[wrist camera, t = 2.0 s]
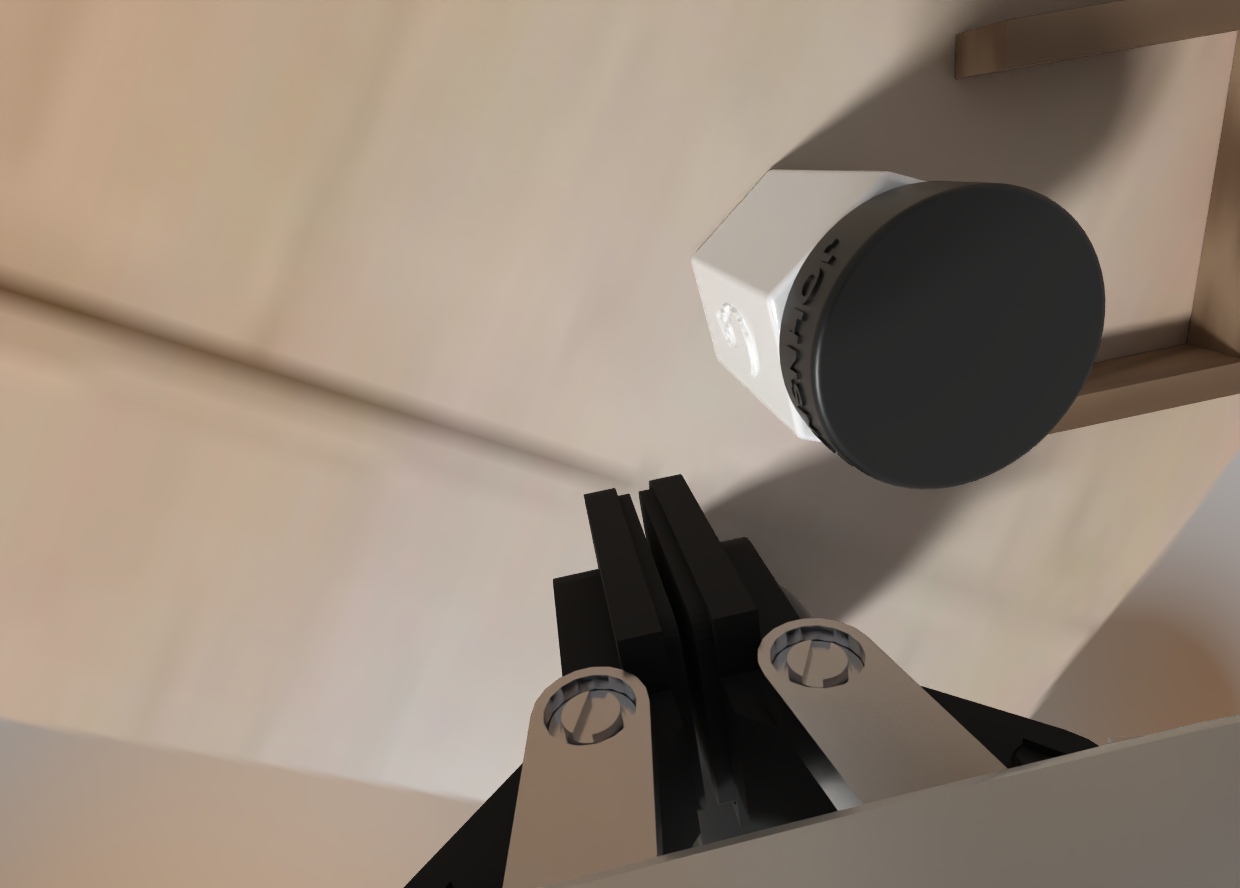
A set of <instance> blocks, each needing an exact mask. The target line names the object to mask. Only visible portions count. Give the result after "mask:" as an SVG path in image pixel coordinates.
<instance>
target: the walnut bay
mask: <svg viewBox="0 0 1240 888" xmlns="http://www.w3.org/2000/svg"><path fill="white" fill-rule="evenodd" d="M1236 30H1238V36H1237V42H1236V48H1235V54H1234V60H1233V67H1232V73H1231V79H1230V85H1229V91H1228V97H1227V103H1226V109H1225V115H1224V121H1223V127H1222V133H1221V139H1220V145H1219V151H1218V158H1217V164H1216V170H1215V176H1214V182H1213V188H1212V194H1211V200H1210V206H1209V212H1208V218H1207V224H1206V230H1205V236H1204V242H1203V249H1202V255H1201V261H1200V267H1199V273H1198V279H1197V285H1196V291H1195V297H1194V303H1193V309H1192V315H1191V321H1190V327H1189V333H1188V339H1187V344H1184V345H1179V346H1175V347H1170V348H1165V349H1160V350H1155V351H1150V352H1146V353H1141V354H1136V355H1131V356H1126V357H1121V358H1117V359H1112V360H1107V361H1102V362H1097V363H1094V364H1093V366H1092V369H1091V371H1090V374H1089V376H1088V378H1087V380H1086V382H1085V384H1084V386H1083V388H1082V389H1081V391H1080V393H1079V395H1078V396H1077V398H1076V400H1075V401H1074V402H1073V404H1072V405H1071V407H1070V408H1069V410H1068V411H1067V412H1066V414H1065V415H1064V416H1063V418H1062V419H1061V420H1060V421H1059V423H1058V424H1057V425H1056V426H1055V427H1054V428H1053V429H1052V430H1051V431H1050V432H1049V434H1052V433H1056V432H1061V431H1066V430H1070V429H1075V428H1080V427H1085V426H1089V425H1094V424H1099V423H1103V422H1108V421H1113V420H1117V419H1122V418H1127V417H1131V416H1136V415H1141V414H1145V413H1150V412H1155V411H1160V410H1164V409H1169V408H1174V407H1178V406H1183V405H1188V404H1192V403H1197V402H1202V401H1206V400H1211V399H1216V398H1220V397H1225V396H1230V395H1235V394H1239V393H1240V0H1123V1H1117V2H1111V3H1105V4H1099V5H1093V6H1087V7H1081V8H1075V9H1069V10H1063V11H1057V12H1051V13H1045V14H1039V15H1033V16H1027V17H1021V18H1015V19H1009V20H1005V21H1002V22H999V23H995V24H992V25H988V26H985V27H982V28H978V29H975V30H971V31H968V32H965V33H961V34H958V35H956V63H955V79H958V78H964V77H970V76H975V75H981V74H987V73H993V72H999V71H1004V70H1010V69H1016V68H1022V67H1028V66H1033V65H1039V64H1045V63H1051V62H1056V61H1062V60H1068V59H1074V58H1080V57H1085V56H1091V55H1097V54H1103V53H1109V52H1114V51H1120V50H1126V49H1132V48H1138V47H1143V46H1149V45H1155V44H1161V43H1167V42H1172V41H1178V40H1184V39H1190V38H1196V37H1201V36H1207V35H1213V34H1219V33H1225V32H1230V31H1236Z"/></svg>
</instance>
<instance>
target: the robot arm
mask: <svg viewBox="0 0 1240 888" xmlns="http://www.w3.org/2000/svg"><path fill="white" fill-rule="evenodd" d="M584 499H585V504H586V509H587V514H588V519H589V524H590V529H591V534H592V539H593V544H594V549H595V553H596V558H597V563H598V568H599V569H596V570H591V571H587V572H582V573H578V574H573V575H569V576H564V577H559V578H555V579H553V587H554V597H555V607H556V617H557V627H558V637H559V646H560V656H561V666H562V676H563V677H561V678H559V679H558V680H556V681H555V682H554V683H553V684H551V685H550V686H549V687H547V688H546V689H545V690H544V692H543V693H542V694H541V695H540V697H539V698H538V699H537V701H536V702H535V705H534V708H533V711H532V713H531V717H530V723H529V729H528V735H527V741H526V748H525V754H524V760H523V763H522V764H521V765H520V767H519V768H518V769H517V770H516V771H515V772H514V773H513V774H512V775H511V776H510V777H509V778H508V779H507V780H506V781H505V782H504V783H503V784H502V785H501V786H500V787H499V788H498V790H497V791H496V792H495V793H494V794H493V795H492V796H491V797H490V798H489V799H488V800H487V801H486V802H485V803H484V804H483V805H482V806H481V807H480V808H479V809H478V810H477V812H476V813H475V814H474V815H473V816H472V817H471V818H470V819H469V820H468V821H467V822H466V823H465V824H464V825H463V826H462V827H461V828H460V829H459V830H458V831H457V832H456V833H455V834H454V835H453V837H452V838H451V839H450V840H449V841H448V842H447V843H446V844H445V845H444V846H443V847H442V848H441V849H440V850H439V851H438V852H437V853H436V854H435V855H434V856H433V858H431V860H430V861H429V862H428V863H427V864H426V865H425V866H424V867H423V868H422V869H421V870H420V871H419V872H418V873H417V874H416V875H415V876H414V877H413V878H412V879H411V881H410V882H409V883H408V884H407V885H406V886H405V887H404V888H1240V715H1236V716H1231V717H1226V718H1221V719H1216V720H1212V721H1206V722H1201V723H1197V724H1193V725H1189V726H1185V727H1181V728H1176V729H1172V730H1168V731H1164V732H1160V733H1156V734H1151V735H1147V736H1131V737H1109V741H1108V745H1104V746H1098V745H1097V744H1095V743H1094V742H1092V741H1090V740H1089V739H1086V738H1084V737H1082V736H1079V735H1077V734H1074V733H1072V732H1069V731H1066V730H1064V729H1061V728H1057V727H1054V726H1051V725H1048V724H1044V723H1041V722H1038V721H1035V720H1031V719H1028V718H1025V717H1021V716H1018V715H1015V714H1012V713H1008V712H1005V711H1002V710H998V709H995V708H992V707H988V706H985V705H982V704H979V703H975V702H972V701H969V700H965V699H962V698H959V697H956V696H952V695H949V694H946V693H942V692H939V691H936V690H933V689H929V688H926V687H923V686H920V685H919V684H918V683H916V682H915V681H914V680H913V679H912V678H911V677H910V676H909V675H908V674H907V673H906V672H905V671H904V670H903V669H902V668H901V667H900V666H898V665H897V664H896V663H895V662H894V661H893V660H892V659H891V658H890V657H889V656H888V655H887V654H886V653H885V652H884V651H883V650H881V649H880V648H879V647H878V646H877V645H876V644H875V643H874V642H873V641H872V640H871V639H870V638H869V637H868V636H866V635H865V634H863V633H862V632H861V631H859V630H858V629H856V628H855V627H852V626H850V625H847V624H845V623H842V622H840V621H835V620H829V619H823V618H808V619H800V617H799V616H798V614H797V613H796V611H795V610H794V608H793V607H792V605H791V604H790V602H789V600H788V599H787V597H786V596H785V594H784V593H783V591H782V590H781V588H780V587H779V585H778V583H777V582H776V580H775V579H774V577H773V576H772V574H771V573H770V571H769V570H768V568H767V567H766V565H765V563H764V562H763V560H762V559H761V557H760V556H759V554H758V553H757V551H756V550H755V548H754V546H753V545H752V543H751V542H750V541H749V540H748V538H746V537H742V538H738V539H733V540H728V541H724V542H719V540H718V538H717V536H716V534H715V533H714V531H713V529H712V527H711V526H710V524H709V522H708V520H707V519H706V517H705V515H704V513H703V511H702V510H701V508H700V506H699V504H698V503H697V501H696V499H695V497H694V496H693V494H692V492H691V490H690V488H689V487H688V485H687V483H686V481H685V480H684V478H683V476H682V475H681V474H679V475H674V476H670V477H665V478H660V479H655V480H651V481H649V490H644V491H639V499H640V505H641V511H642V517H643V523H644V529H645V535H646V538H645V535H644V532H643V529H642V527H641V524H640V521H639V518H638V516H637V513H636V510H635V508H634V505H633V502H632V499H631V497H630V494H625V495H620V496H618V495H617V492H616V489H615V488H613V489H608V490H603V491H598V492H594V493H589V494H584ZM696 739H697V740H696ZM697 743H698V746H699V749H700V752H701V755H702V758H703V761H704V764H705V767H706V770H707V773H708V776H709V779H710V782H711V785H712V789H713V792H714V795H715V798H716V800H717V803H718V805H719V806H720V805H724V804H728V803H732V804H733V807H734V810H735V813H736V816H737V819H738V821H739V824H740V827H741V828H744V827H748V826H752V825H756V824H757V825H759V826H761V827H763V828H765V829H764V830H760V831H756V832H752V833H749V834H745V835H741V836H737V837H733V838H729V839H725V840H721V841H717V842H713V843H709V844H705V845H701V846H697V847H693V848H691V847H692V846H693V844H694V843H695V841H696V839H697V838H698V836H699V835H700V833H701V830H700V824H699V818H698V812H697V811H700V810H704V809H707V804H706V797H705V791H704V784H703V778H702V772H701V765H700V759H699V752H698V746H697Z"/></svg>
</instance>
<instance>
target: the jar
mask: <svg viewBox="0 0 1240 888" xmlns="http://www.w3.org/2000/svg"><path fill="white" fill-rule="evenodd" d="M691 263H692V267H693V270H694V274H695V278H696V281H697V285H698V289H699V293H700V296H701V300H702V304H703V308H704V311H705V315H706V319H707V323H708V327H709V330H710V334H711V338H712V342H713V346H714V349H715V353H716V357H717V360H718V361H719V362H720V363H721V364H722V365H723V366H724V367H725V368H726V369H727V370H728V371H729V372H730V373H731V374H732V375H733V376H734V377H735V378H736V379H737V380H739V381H740V382H741V383H742V384H743V385H744V386H745V387H746V388H747V389H748V390H749V391H750V392H751V393H752V394H753V395H754V396H755V397H756V398H758V399H759V400H760V401H761V402H762V403H763V404H764V405H765V406H766V407H767V408H768V409H769V410H770V411H771V412H772V413H773V414H774V415H775V416H776V417H778V418H779V419H780V420H781V421H782V422H783V423H784V424H785V425H786V426H787V427H788V428H789V429H790V430H791V431H792V432H793V433H794V434H795V435H796V436H798V437H799V438H801V439H804V440H810V441H817V442H822V443H823V444H824V445H826V446H827V447H828V448H829V449H830V450H831V451H832V452H833V453H835V452H836V451H837V454H838V455H839V456H840V457H841V458H842V459H843V460H845V461H846V462H847V463H848V464H850V465H851V466H854V467H856V468H857V469H858V470H860V471H861V472H863V473H865V474H866V475H868V476H870V477H872V478H874V479H877V480H879V481H882V482H884V483H887V484H891V485H894V486H898V487H904V488H910V489H940V488H948V487H953V486H957V485H962V484H965V483H969V482H972V481H975V480H978V479H981V478H983V477H986V476H988V475H990V474H992V473H994V472H996V471H998V470H1000V469H1002V468H1004V467H1006V466H1007V465H1009V464H1011V463H1012V462H1014V461H1016V460H1017V459H1019V458H1020V457H1021V456H1023V455H1024V454H1026V453H1027V452H1028V451H1029V450H1031V449H1032V448H1033V447H1034V446H1036V445H1037V444H1038V443H1039V442H1040V441H1041V440H1042V439H1043V438H1044V437H1045V436H1046V435H1047V434H1049V432H1050V431H1051V430H1052V429H1053V428H1054V427H1055V426H1056V425H1057V424H1058V423H1059V421H1060V420H1061V419H1062V418H1063V416H1064V415H1065V414H1066V412H1067V411H1068V410H1069V408H1070V407H1071V405H1072V404H1073V402H1074V401H1075V400H1076V398H1077V396H1078V395H1079V393H1080V391H1081V389H1082V388H1083V386H1084V384H1085V382H1086V380H1087V378H1088V376H1089V374H1090V371H1091V369H1092V366H1093V364H1094V361H1095V358H1096V356H1097V352H1098V349H1099V345H1100V342H1101V337H1102V332H1103V326H1104V317H1105V290H1104V281H1103V276H1102V271H1101V267H1100V264H1099V261H1098V257H1097V255H1096V253H1095V250H1094V248H1093V245H1092V243H1091V242H1090V240H1089V238H1088V236H1087V235H1086V233H1085V231H1084V230H1083V229H1082V227H1081V226H1080V225H1079V223H1078V222H1077V221H1076V220H1075V219H1074V218H1073V217H1072V216H1071V215H1070V214H1069V213H1068V212H1067V211H1066V210H1065V209H1064V208H1062V207H1061V206H1060V205H1058V204H1057V203H1056V202H1054V201H1052V200H1051V199H1049V198H1047V197H1046V196H1043V195H1041V194H1039V193H1037V192H1034V191H1032V190H1029V189H1026V188H1023V187H1019V186H1015V185H1009V184H1001V183H980V182H952V181H924V180H921V179H917V178H913V177H909V176H905V175H901V174H898V173H894V172H890V171H845V170H779V169H773V170H770V171H768V172H767V173H766V174H765V175H764V177H763V178H762V179H761V180H760V181H759V182H758V183H757V184H756V186H755V187H754V188H753V189H752V190H751V191H750V192H749V193H748V195H747V196H746V197H745V198H744V199H743V200H742V201H741V202H740V204H739V205H738V206H737V207H736V208H735V209H734V210H733V211H732V212H731V214H730V215H729V216H728V217H727V218H726V219H725V220H724V221H723V223H722V224H721V225H720V226H719V227H718V228H717V229H716V230H715V232H714V233H713V234H712V235H711V236H710V237H709V238H708V239H707V241H706V242H705V243H704V244H703V245H702V246H701V247H700V248H699V249H698V251H697V252H696V253H695V254H694V255H693V257H692V259H691Z"/></svg>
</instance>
